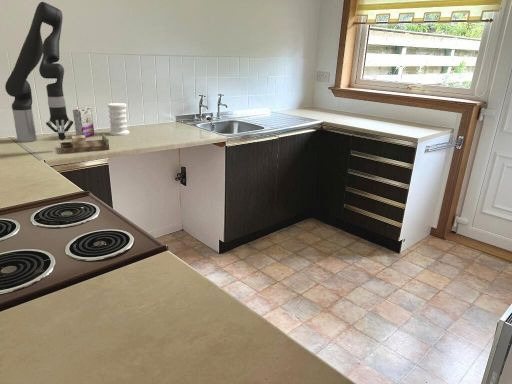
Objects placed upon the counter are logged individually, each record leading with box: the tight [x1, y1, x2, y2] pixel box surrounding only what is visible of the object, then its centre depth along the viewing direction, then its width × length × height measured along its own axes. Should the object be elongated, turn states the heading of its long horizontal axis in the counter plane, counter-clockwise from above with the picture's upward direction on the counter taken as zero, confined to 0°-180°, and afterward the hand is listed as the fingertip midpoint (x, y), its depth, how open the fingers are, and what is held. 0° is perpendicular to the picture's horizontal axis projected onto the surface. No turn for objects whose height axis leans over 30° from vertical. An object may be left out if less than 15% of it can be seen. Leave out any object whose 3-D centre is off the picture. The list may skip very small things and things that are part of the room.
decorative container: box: [107, 102, 130, 136], centre depth 239 cm, size 12×12×18 cm
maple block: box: [71, 135, 87, 146], centre depth 202 cm, size 6×6×4 cm
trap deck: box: [59, 133, 110, 154], centre depth 204 cm, size 22×14×6 cm, turn 120°
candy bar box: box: [72, 106, 95, 139], centre depth 228 cm, size 11×5×16 cm, turn 168°
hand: (62, 140), depth 198 cm, fingers closed
